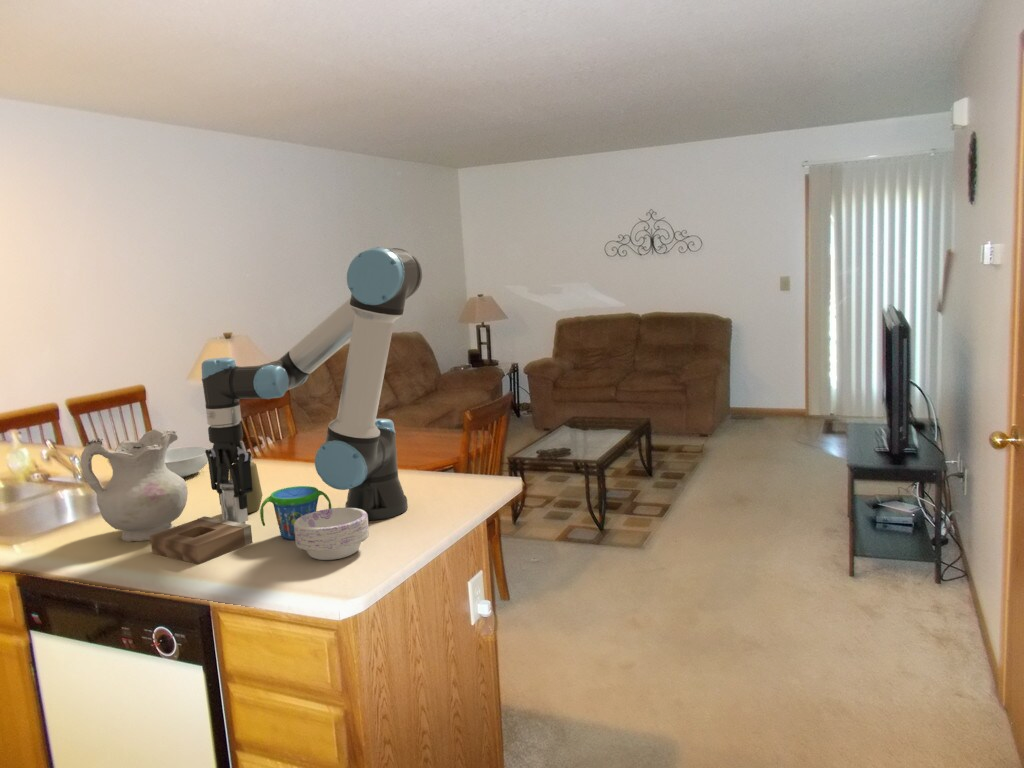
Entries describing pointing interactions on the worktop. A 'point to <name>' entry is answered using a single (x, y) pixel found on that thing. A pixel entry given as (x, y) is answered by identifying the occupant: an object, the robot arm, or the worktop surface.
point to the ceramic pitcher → (137, 485)
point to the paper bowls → (331, 532)
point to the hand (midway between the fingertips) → (235, 520)
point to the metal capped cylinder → (229, 500)
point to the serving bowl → (186, 460)
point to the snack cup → (292, 506)
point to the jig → (201, 539)
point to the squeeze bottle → (256, 494)
